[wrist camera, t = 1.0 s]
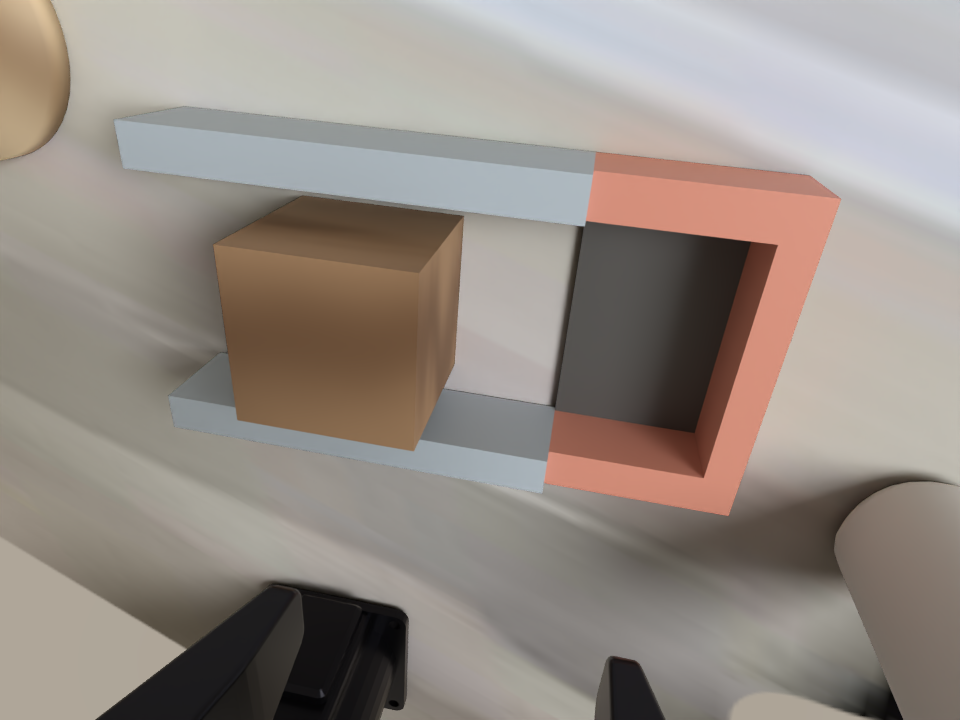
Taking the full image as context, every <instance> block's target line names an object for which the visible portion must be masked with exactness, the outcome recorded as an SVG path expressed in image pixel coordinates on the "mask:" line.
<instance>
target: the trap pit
mask: <svg viewBox="0 0 960 720" xmlns="http://www.w3.org/2000/svg"><path fill="white" fill-rule="evenodd" d="M840 201H841V198H839V197H838V196H837V195H835V194H834V193H833V192H831V191H830V190H829V189H827V188H826V187H825V186H823V185H822V184H821V183H819V182H818V181H817V180H815V179H814V178H813V177H811V176H808V175H799V174H790V173H781V172H772V171H763V170H754V169H745V168H736V167H727V166H718V165H709V164H700V163H691V162H682V161H673V160H664V159H655V158H646V157H637V156H628V155H618V154H609V153H600V152H596V155H595V163H594V172H593V179H592V185H591V191H590V197H589V204H588V210H587V216H586V222H585V227H584V230H583V236H582V242H581V249H580V255H579V261H578V268H577V274H576V280H575V286H574V293H573V299H572V305H571V311H570V318H569V324H568V330H567V337H566V343H565V349H564V355H563V362H562V368H561V374H560V381H559V387H558V393H557V399H556V406H555V412H554V419H553V426H552V433H551V440H550V446H549V453H548V460H547V466H546V473H545V479H544V483H547V484H552V485H558V486H563V487H569V488H574V489H580V490H586V491H591V492H597V493H602V494H608V495H614V496H619V497H625V498H630V499H636V500H642V501H647V502H653V503H658V504H664V505H669V506H675V507H681V508H686V509H692V510H697V511H703V512H709V513H714V514H720V515H725V516H729V513H730V510H731V507H732V505H733V502H734V499H735V496H736V493H737V490H738V488H739V485H740V482H741V479H742V476H743V474H744V471H745V468H746V465H747V462H748V460H749V457H750V454H751V451H752V448H753V446H754V443H755V440H756V437H757V434H758V431H759V429H760V426H761V423H762V420H763V417H764V415H765V412H766V409H767V406H768V403H769V401H770V398H771V395H772V392H773V389H774V387H775V384H776V381H777V378H778V375H779V372H780V370H781V367H782V364H783V361H784V358H785V356H786V353H787V350H788V347H789V344H790V342H791V339H792V336H793V333H794V330H795V328H796V325H797V322H798V319H799V316H800V314H801V311H802V308H803V305H804V302H805V299H806V297H807V294H808V291H809V288H810V285H811V283H812V280H813V277H814V274H815V271H816V269H817V266H818V263H819V260H820V257H821V255H822V252H823V249H824V246H825V243H826V240H827V238H828V235H829V232H830V229H831V226H832V224H833V221H834V218H835V215H836V212H837V210H838V207H839V204H840Z"/></svg>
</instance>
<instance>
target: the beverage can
mask: <svg viewBox="0 0 960 720" xmlns="http://www.w3.org/2000/svg"><path fill="white" fill-rule="evenodd" d="M834 552H835V556H836V559H837V562H838V565H839V568H840V570H841V572H842V575H843V577H844V580H845V582H846V584H847V587H848V589H849V591H850V594H851V596H852V598H853V601H854V603H855V606H856V608H857V610H858V613H859V615H860V617H861V620H862V622H863V625H864V627H865V629H866V632H867V634H868V636H869V639H870V641H871V643H872V646H873V648H874V651H875V653H876V655H877V658H878V660H879V662H880V665H881V667H882V669H883V672H884V674H885V677H886V679H887V681H888V684H889V686H890V688H891V691H892V693H893V695H894V698H895V700H896V703H897V705H898V707H899V710H900V712H901V714H902V717H903V719H904V720H960V486H956V485H950V484H944V483H938V482H906V483H902V484H897V485H892V486H889V487H887V488H884V489H882V490H880V491H878V492H875V493H873V494H872V495H871V496H869V497H868V498H866V499H865V500H864V501H862V502H861V503H860V504H859V505H858V506H857V507H856V508H855V509H854V510H853V511H852V512H851V513H850V514H849V515H848V516H847V517H846V519H845V520H844V522H843V523H842V525H841V527H840V529H839V530H838V532H837V534H836V538H835V546H834Z"/></svg>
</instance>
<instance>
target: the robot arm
mask: <svg viewBox="0 0 960 720" xmlns="http://www.w3.org/2000/svg"><path fill="white" fill-rule="evenodd" d="M408 626H409V619H408V616H407V615H406V614H405V613H404V612H402V611H400V610H397V609H392V608H387V607H382V606H378V605H373V604H368V603H363V602H359V601H354V600H349V599H344V598H340V597H335V596H330V595H326V594H321V593H316V592H311V591H307V590H302V589H297V588H292V587H288V586H283V585H278V584H271V585H269V586H268V587H267V589H265V590H264V591H263V592H261V593H260V594H259V595H257V596H256V597H255V598H253V599H252V600H251V601H250V602H248V603H247V604H246V605H244V606H243V607H242V608H240V609H239V610H238V611H237V612H235V613H234V614H233V615H231V616H230V617H229V618H227V619H226V620H225V621H223V622H222V623H221V624H220V625H218V626H217V627H216V628H214V629H213V630H212V631H210V632H209V633H208V634H207V635H205V636H204V637H203V638H201V639H200V640H199V641H197V642H196V643H195V644H193V645H192V646H191V647H190V648H188V649H187V650H186V651H184V652H183V653H182V654H180V655H179V656H178V657H176V658H175V659H174V660H173V661H171V662H170V663H169V664H167V665H166V666H165V667H163V668H162V669H161V670H160V671H158V672H157V673H156V674H154V675H153V676H152V677H150V678H149V679H148V680H146V682H144V683H143V684H141V685H140V686H139V687H138V688H136V689H135V690H133V691H132V692H131V693H130V694H128V695H127V696H126V697H124V698H123V699H122V700H120V701H119V702H118V703H117V704H115V705H114V706H113V707H111V708H110V709H109V710H107V711H106V712H105V713H104V714H102V715H101V716H100V717H98V718H97V719H96V720H380V718H381V715H382V712H383V709H384V708H387V709H392V710H401V709H403V707H404V704H405V701H406V696H407V661H408ZM595 720H665V717H664V715H663V713H662V711H661V709H660V706H659V704H658V702H657V700H656V698H655V695H654V693H653V691H652V689H651V687H650V684H649V682H648V680H647V678H646V676H645V673H644V671H643V669H642V667H641V666H640V664H639V663H638V662H637V661H635V660H631V659H626V658H622V657H617V656H610V657H608V659H607V660H606V663H605V667H604V671H603V674H602V678H601V682H600V685H599V689H598V693H597V699H596V707H595Z"/></svg>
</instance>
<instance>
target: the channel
mask: <svg viewBox="0 0 960 720" xmlns="http://www.w3.org/2000/svg"><path fill="white" fill-rule="evenodd" d="M114 125H115V130H116V135H117V140H118V145H119V150H120V155H121V160H122V165H123V168H124V169H132V170H139V171H147V172H155V173H163V174H171V175H179V176H187V177H195V178H203V179H211V180H219V181H227V182H235V183H243V184H251V185H259V186H266V187H274V188H282V189H290V190H298V191H306V192H314V193H322V194H330V195H338V196H346V197H354V198H362V199H370V200H378V201H385V202H393V203H401V204H409V205H417V206H425V207H433V208H441V209H449V210H457V211H465V212H473V213H481V214H489V215H497V216H505V217H512V218H520V219H528V220H536V221H544V222H552V223H560V224H568V225H576V226H584V227H585V222H586V216H587V210H588V204H589V197H590V191H591V185H592V179H593V172H594V163H595V155H596V152H591V151H582V150H573V149H564V148H555V147H546V146H537V145H528V144H519V143H510V142H501V141H492V140H483V139H474V138H465V137H456V136H447V135H438V134H429V133H420V132H411V131H402V130H393V129H384V128H375V127H366V126H357V125H348V124H339V123H330V122H321V121H312V120H303V119H294V118H285V117H276V116H266V115H257V114H248V113H239V112H230V111H221V110H212V109H203V108H194V107H185V106H184V107H179V108H173V109H168V110H163V111H157V112H152V113H146V114H141V115H136V116H130V117H125V118H119V119H114ZM168 397H169V402H170V407H171V412H172V417H173V422H174V427H177V428H183V429H188V430H194V431H199V432H205V433H210V434H216V435H221V436H227V437H233V438H238V439H244V440H249V441H255V442H260V443H266V444H271V445H277V446H282V447H288V448H293V449H299V450H304V451H310V452H315V453H321V454H326V455H332V456H337V457H343V458H348V459H354V460H359V461H365V462H371V463H376V464H382V465H387V466H393V467H398V468H404V469H409V470H415V471H420V472H426V473H431V474H437V475H442V476H448V477H453V478H459V479H464V480H470V481H475V482H481V483H486V484H492V485H497V486H503V487H509V488H514V489H520V490H525V491H531V492H536V493H542V491H543V485H544V479H545V473H546V466H547V460H548V453H549V446H550V440H551V433H552V426H553V419H554V412H555V407H551V406H545V405H539V404H533V403H527V402H521V401H515V400H508V399H502V398H496V397H490V396H484V395H478V394H472V393H466V392H459V391H453V390H447V389H443V390H442V392H441V394H440V396H439V399H438V401H437V403H436V405H435V407H434V409H433V412H432V414H431V416H430V418H429V420H428V422H427V424H426V427H425V429H424V431H423V433H422V435H421V437H420V439H419V442H418V444H417V446H416V448H415V450H414V451H408V450H402V449H397V448H391V447H385V446H380V445H374V444H368V443H363V442H357V441H351V440H346V439H340V438H334V437H329V436H323V435H318V434H312V433H306V432H301V431H295V430H289V429H284V428H278V427H272V426H267V425H261V424H255V423H250V422H244V421H238V420H237V415H236V408H235V401H234V393H233V386H232V379H231V371H230V364H229V357H228V354H227V353H219V354H218V355H216V356H215V357H214V358H213V359H212V360H210V361H209V362H208V363H207V364H206V365H204V366H203V367H202V368H201V369H200V370H198V371H197V372H196V373H195V374H194V375H192V376H191V377H190V378H189V379H188V380H186V381H185V382H184V383H183V384H182V385H180V386H179V387H178V388H177V389H176V390H174V391H173V392H172V393H171V394H170V395H168Z"/></svg>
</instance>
